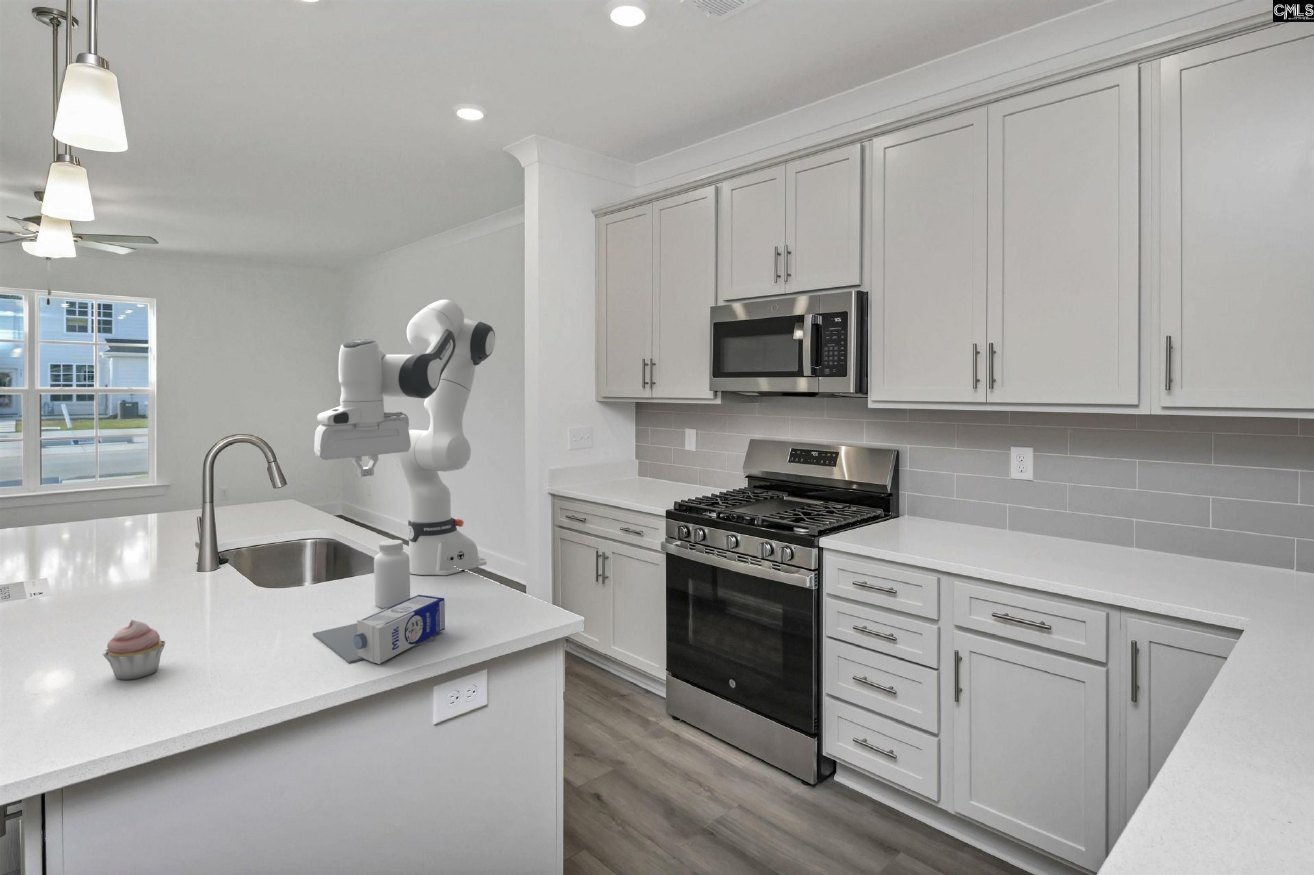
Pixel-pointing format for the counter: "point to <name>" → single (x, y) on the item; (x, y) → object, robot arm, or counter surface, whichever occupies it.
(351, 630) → the mat
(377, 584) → the pill bottle
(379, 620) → the milk carton
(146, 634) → the cupcake
